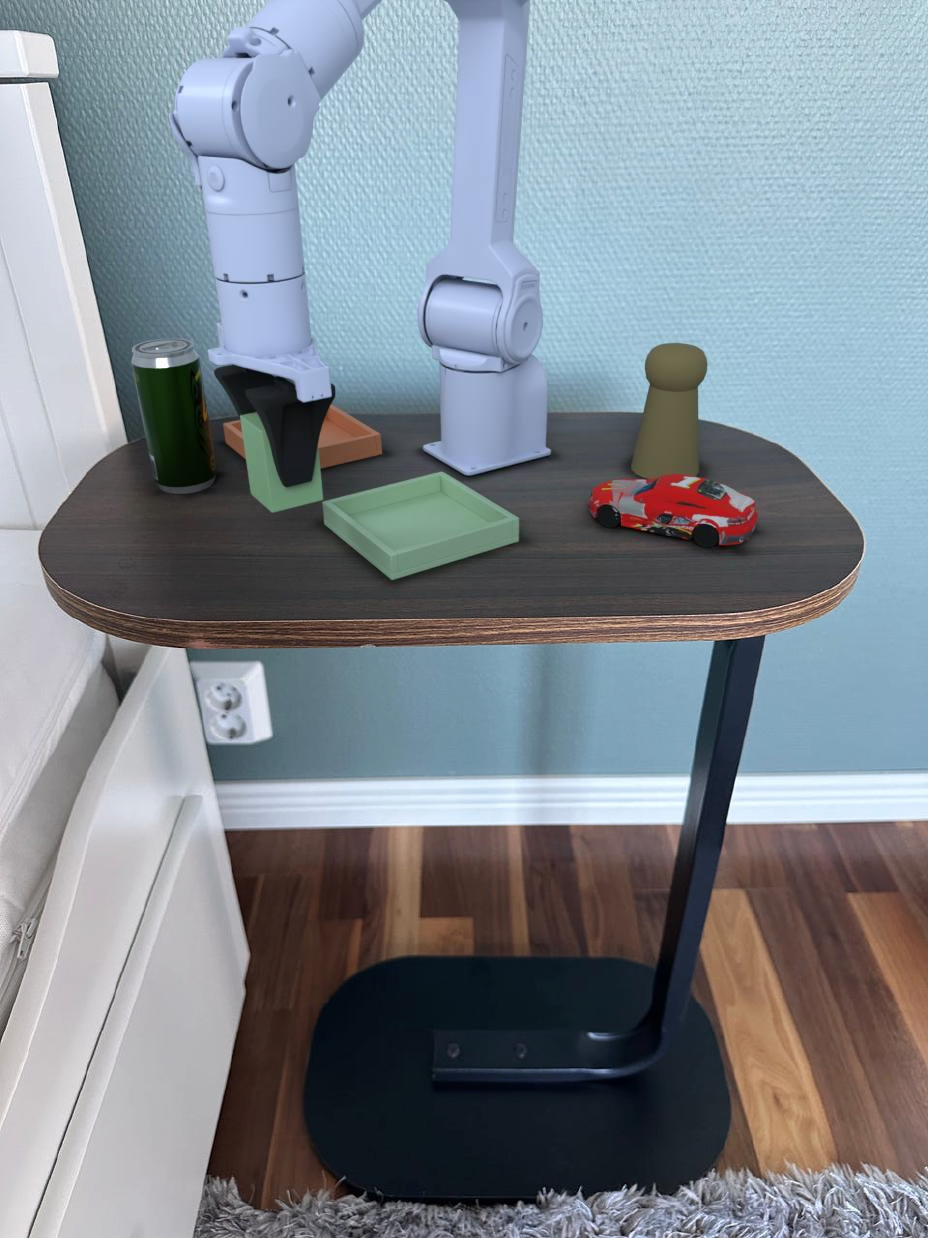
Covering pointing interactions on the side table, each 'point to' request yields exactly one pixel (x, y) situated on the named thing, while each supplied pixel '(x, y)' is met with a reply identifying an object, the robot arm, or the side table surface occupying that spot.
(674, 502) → the race car
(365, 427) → the terracotta tray
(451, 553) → the sage tray
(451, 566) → the side table surface
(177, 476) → the beer can
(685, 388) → the olive pawn piece
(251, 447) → the sage block
